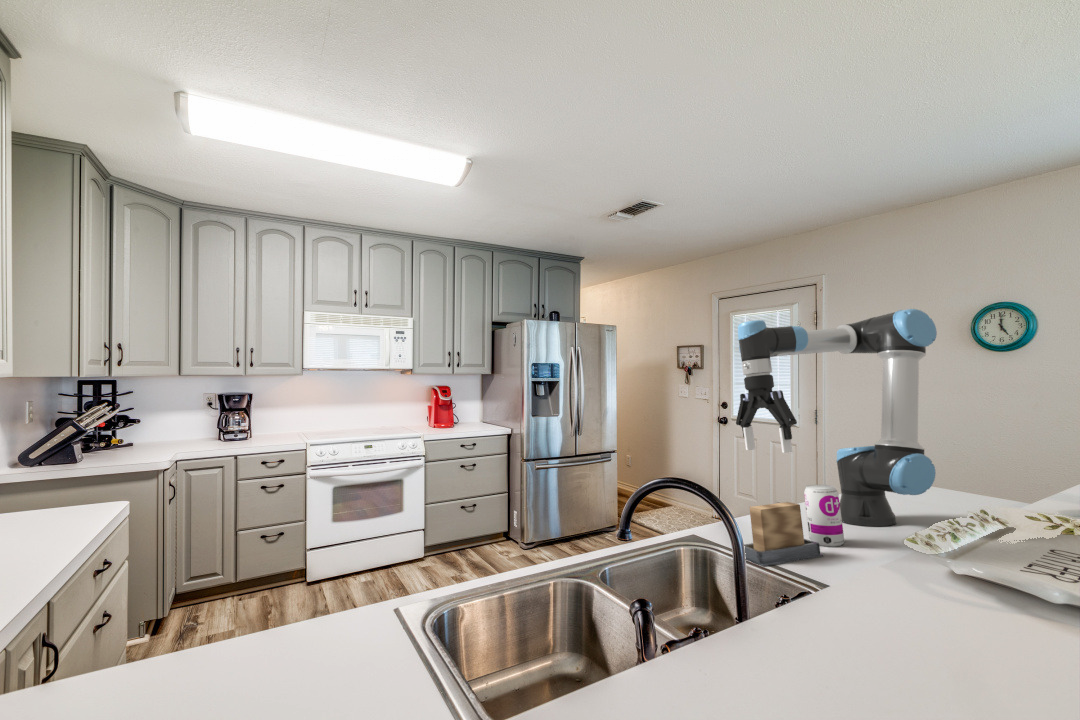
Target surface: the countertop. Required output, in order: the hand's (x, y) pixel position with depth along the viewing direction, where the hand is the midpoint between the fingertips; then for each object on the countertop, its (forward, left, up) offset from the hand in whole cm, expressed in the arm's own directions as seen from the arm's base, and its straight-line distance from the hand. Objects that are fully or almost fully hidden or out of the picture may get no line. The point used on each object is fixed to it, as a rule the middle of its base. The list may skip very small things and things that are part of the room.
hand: (768, 451), depth 132 cm
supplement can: (-13, +4, -26) cm, 29 cm away
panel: (+6, +8, -25) cm, 27 cm away
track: (+6, +8, -25) cm, 27 cm away
